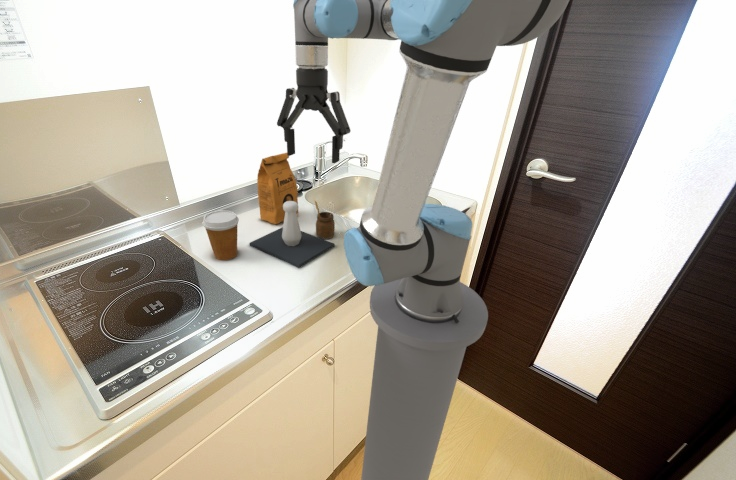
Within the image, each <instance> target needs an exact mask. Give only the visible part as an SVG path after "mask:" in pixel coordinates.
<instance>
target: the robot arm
mask: <svg viewBox="0 0 736 480" xmlns="http://www.w3.org/2000/svg"><path fill="white" fill-rule="evenodd" d="M569 2H570V0H293V3H292V5H293V6H292V7H293V15H294V16H293V17H294V41H295V45H294V48H295V49H294V50H295V66H297V68H296V69H295V80H296V81H295V82H296V86H297V89H296V88H295V87H290V88H289V87H288V88H286V90H285V98H284V101H283V105H282V106H281V110H280V113H279V117H278V119H277V122H276V125H277V127H281V128H282V129H283V137H284V142H285V143H286V153H287V155H288V156H289V157H290V156H293V155H295V154H296V140H295V139H296V138H295V135H296V134H295V128H293V126H294V125H295V123H296V121H297V120H298V119H299V118H300V116H301V115H302V113H303V112H304V110H305V111H309V110H311V111H314V112H317V111H318V112H319V113H320V114H321V115H322V117H323V118H324V120H325V121H326V123H327V125H328V126H329V127H330V129H331V131H332V132H333V134H334V135H333V136H331V137H332V138H331V141H332V142H331V163H332V164H336V163H339V162H340V154H341V153H340V152H341V151H340V150H342V149H343V146H344V136H345V135H348V134H350V133H351V127H350V124H349V122H348V120H347V117H346V114H345V112H344V109H343V106H342V103H341V96H340V92H339V91H332V92H329V91H328V83H329V80H328V79H329V78H328V77H329V70H328V68H326V67H328V65H329V39H331V40H332V39H358V40H359V39H361V40H362V39H363V40H365V39H367V40H386V41H399V40H400V45H399V51H398V52H399V54H400V56H401V58H402V60H403V61H404V63H405V66H406V69H405V74H404V76H403V77H404V78H403V82H402V86H401V90H400V94H399V98H398V102H397V106H396V110H395V114H394V118H393V122H392V127H391V130H390V134H389V139H388V143H387V146H386V151H385V154H384V159H383V163H382V166H381V172H380V175H379V179H378V183H377V187H376V192H375V196H374V200H373V204H372V205H370V206H368V207H367V208H366V209H364V210H363V212H362V214H361V217H360V222H359V226H357V227H351V228H350V229H348V230H347V231H346V232H345V233H344V237H343V249H344V254H345V258H346V262H347V264H348V266H349V269H350V271H351V273H352V275H353V276H354V278H355V279H356V280H357V282H358V283H359V284H361V285H362V286H364V287H374V286H375V285H383V284H384V283H388V282H392V281H396V280H399V279H401V281H400V283H399V285H398V287H397V289H396V294H395V302H396V304H397V306H398V308H399V309H400V310H401V311H402V312H403V313H405V314H406V315H408V316H409V317H411V318H414V319H416V320H419V321H423V322H428V323H444V322H448V321H451V320H453V319H454V321H455V322H456V323H458V322H459V320H458V319H457V317H458V316H459V314H460V312H461V309H462V305H463V298H462V291H461V284H460V282H461V277H462V273H463V269H464V265H465V261H466V257H467V255H468V254H467V253H468V249H469V246H470V242H471V239H472V231H473V221H472V219H471V218H470V216H469V215H468V214H467V213H465V212H463V211H461V210H459V209H457V208H455V207H451V206H447V205H443V204H438V203H427V200H428V197H429V195H430V192H431V190H432V186H433V183H434V181H435V178H436V175H437V173H438V170H439V167H440V164H441V162H442V159H443V156H444V153H445V151H446V148H447V146H448V143H449V140H450V137H451V135H452V131H453V129H454V126H455V124H456V121H457V119H458V116H459V113H460V111H461V107H462V105H463V102H464V100H465V97H466V94H467V91H468V88H469V85H470V83H471V82H472V81H473V80H475V79H476V78H479V77H480V76H482V75H483V74H485V73H487V71H488V68H489V67H490V64H491V61H492V58H493V56H494V53H495V51H496V49H497V47H506V46H507V47H512V46H518V45H524V44H526V43H529V42H531V41H533V40H535V39H538V38H539V37H541V36H542V35H544V34H545V33H546V32H547V31H548V30H550V29H551V28H552V27H553V26H554V25H555V23H557V21H558V20H559V19H560V18H561V16H562V15H563V14H564V12H565V10H566V9H567V6H568V5H569ZM296 98H297V99H298V102H297V103H296V104H295V106H294V103H295V100H296ZM327 101H328V102H330V103H331V104H330V105H331V107H330V106H329V104H328V103H327ZM293 106H294V109H293V110H292V108H293ZM331 108H332V111H333V112H332V111H331ZM333 113H334V114H333Z"/></svg>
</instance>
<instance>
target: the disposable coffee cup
mask: <svg viewBox="0 0 736 480" xmlns="http://www.w3.org/2000/svg"><path fill="white" fill-rule="evenodd" d="M239 219H240V218H239V217H238V215H237V213H236V212H235V211H232V210H227V209H226V210H225V209H223V210H222V209H221V210H220V209H219V210H214V211H211V212H207V213H206V214H204V216H203V220H202V222H201V223H202V226H203V227H204V228H205V231H206V234H207V238H208V240H209V243H210V246H211V250H212V253H213V256H214V258H215V259H216V260H218V261H229V260H232V259H235V258H236V257H237V256H238V225H239V221H240V220H239Z"/></svg>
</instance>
